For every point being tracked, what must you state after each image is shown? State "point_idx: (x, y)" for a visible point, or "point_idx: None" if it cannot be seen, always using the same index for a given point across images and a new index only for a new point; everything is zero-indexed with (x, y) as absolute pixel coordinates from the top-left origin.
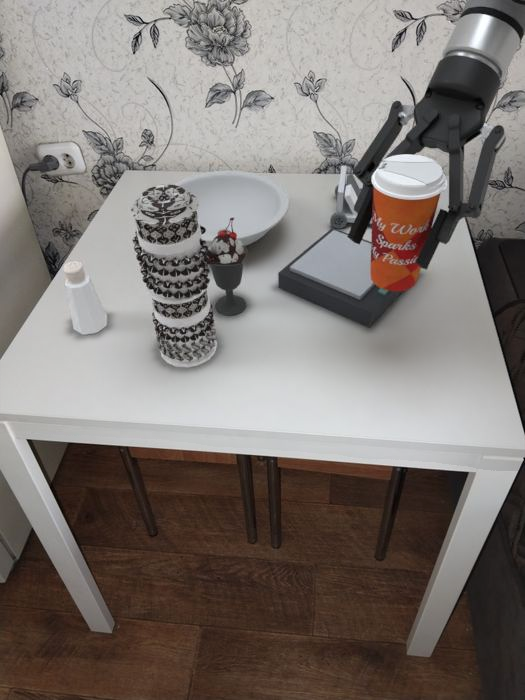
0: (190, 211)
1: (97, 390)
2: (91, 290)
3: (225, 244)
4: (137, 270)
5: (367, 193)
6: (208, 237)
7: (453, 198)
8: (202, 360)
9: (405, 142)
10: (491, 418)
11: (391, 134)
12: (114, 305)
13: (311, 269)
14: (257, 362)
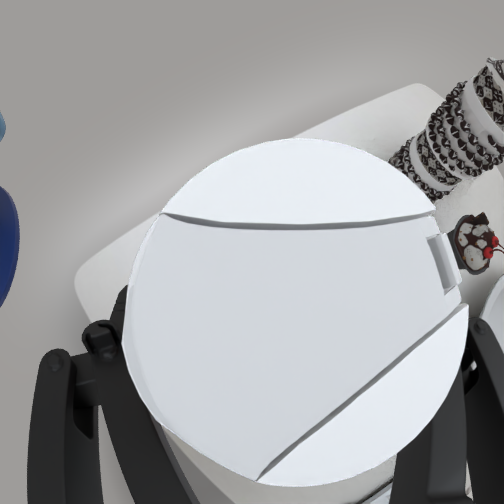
0: (501, 85)
1: (405, 112)
2: None
3: (481, 232)
4: (499, 243)
5: None
6: (499, 287)
7: (118, 376)
8: None
9: (452, 485)
10: (98, 291)
11: (501, 476)
12: (477, 193)
13: None
14: None
